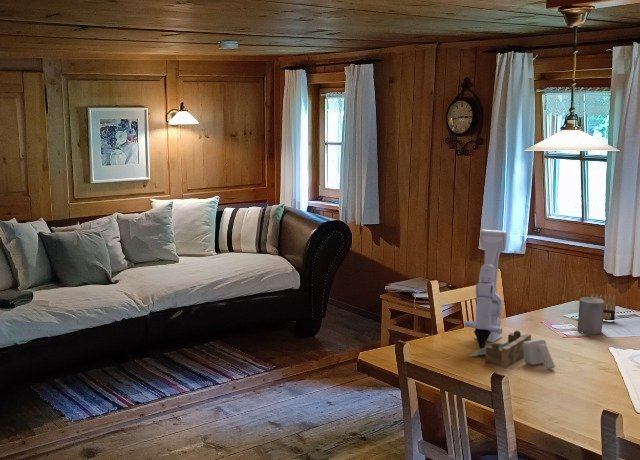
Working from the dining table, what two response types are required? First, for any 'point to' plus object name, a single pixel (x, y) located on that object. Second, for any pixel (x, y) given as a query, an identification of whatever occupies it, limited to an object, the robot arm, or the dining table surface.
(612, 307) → the ammunition clip
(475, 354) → the metal bracket
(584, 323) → the pillar candle
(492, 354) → the brown crenellated block
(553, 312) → the dining table surface
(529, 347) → the grey chunky block
